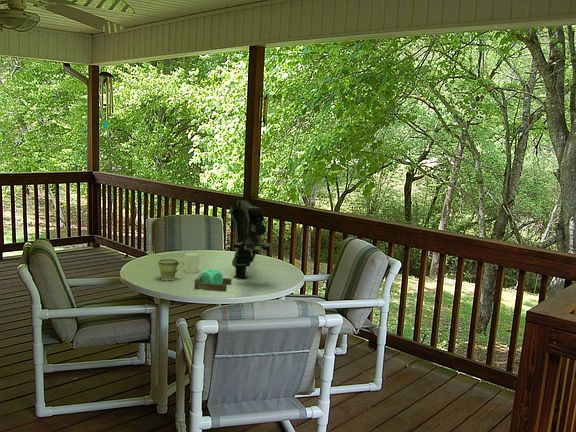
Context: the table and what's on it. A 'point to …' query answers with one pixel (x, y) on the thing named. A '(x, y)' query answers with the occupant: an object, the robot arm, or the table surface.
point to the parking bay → (212, 286)
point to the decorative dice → (212, 277)
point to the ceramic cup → (168, 268)
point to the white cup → (191, 262)
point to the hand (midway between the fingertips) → (251, 262)
